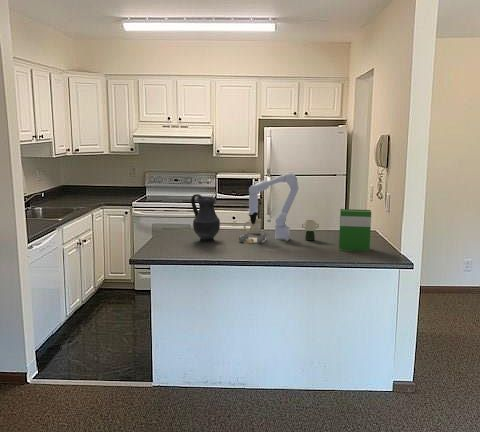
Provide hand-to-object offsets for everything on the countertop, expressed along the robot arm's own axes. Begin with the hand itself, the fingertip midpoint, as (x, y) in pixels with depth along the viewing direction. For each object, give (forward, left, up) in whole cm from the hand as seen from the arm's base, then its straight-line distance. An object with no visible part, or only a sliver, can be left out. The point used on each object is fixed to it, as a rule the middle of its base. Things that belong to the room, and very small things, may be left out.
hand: (253, 223), depth 330 cm
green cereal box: (-66, +13, -10) cm, 68 cm away
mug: (+4, -14, -10) cm, 18 cm away
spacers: (-2, +10, -10) cm, 14 cm away
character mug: (-37, -5, -10) cm, 39 cm away
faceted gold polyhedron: (-2, +16, -9) cm, 19 cm away
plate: (-2, +10, -10) cm, 14 cm away
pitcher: (+29, +15, -10) cm, 34 cm away
